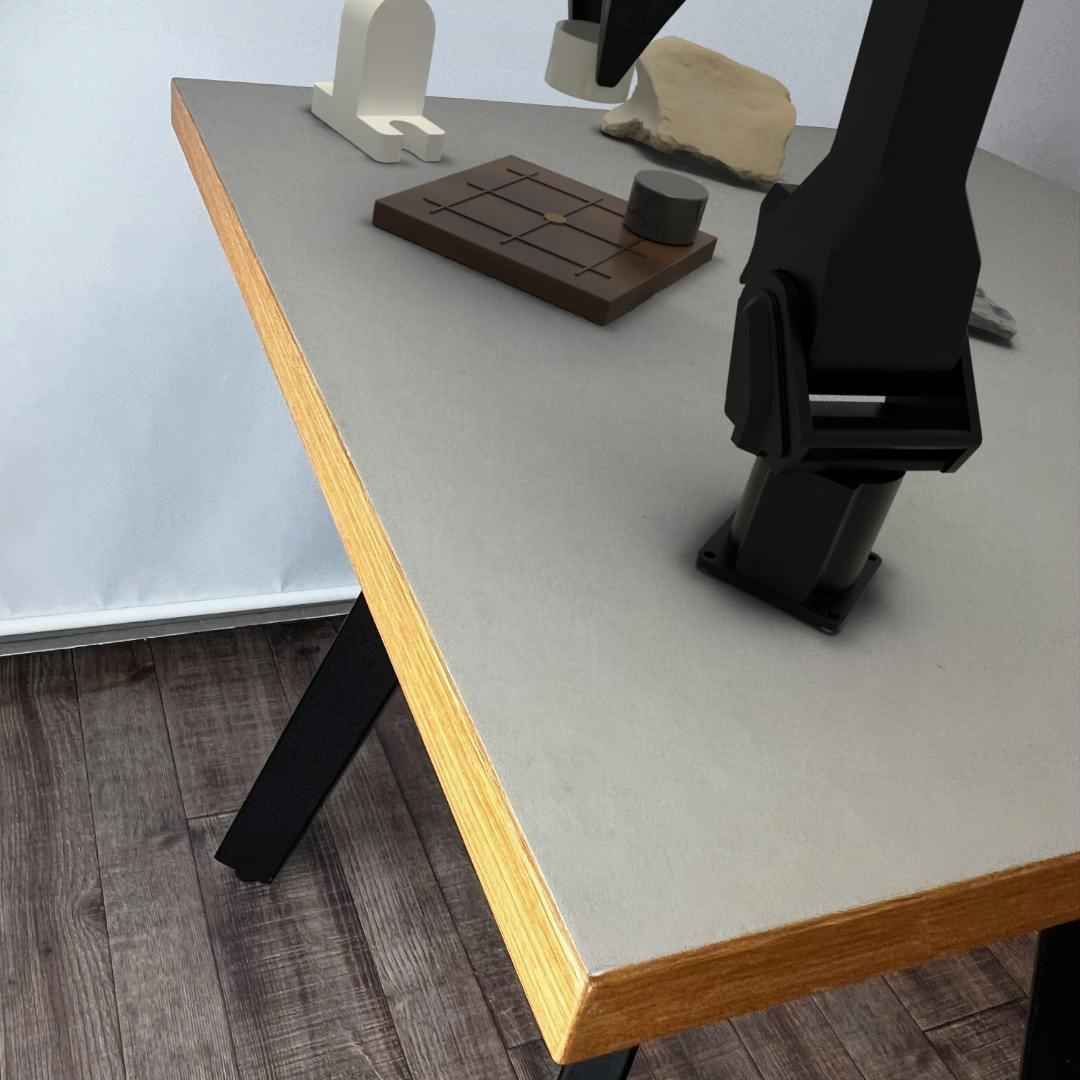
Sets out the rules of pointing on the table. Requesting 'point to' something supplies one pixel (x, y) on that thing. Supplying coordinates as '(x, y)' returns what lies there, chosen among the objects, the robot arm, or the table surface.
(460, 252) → the board
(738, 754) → the table surface
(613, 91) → the white stone
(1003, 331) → the fossil rock
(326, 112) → the white slotted stand
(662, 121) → the decorative stone
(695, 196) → the black stone
